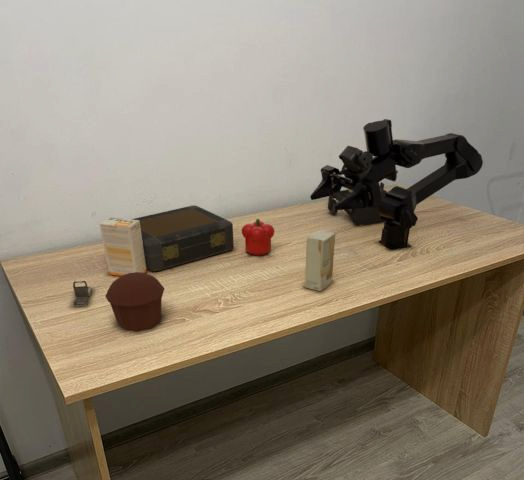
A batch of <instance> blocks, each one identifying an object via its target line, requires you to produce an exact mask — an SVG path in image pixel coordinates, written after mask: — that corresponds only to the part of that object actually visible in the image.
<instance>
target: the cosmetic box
mask: <svg viewBox="0 0 524 480" xmlns="http://www.w3.org/2000/svg"><path fill="white" fill-rule="evenodd" d="M335 245H336V232H333V231H329V230H323V229H318V230H317V231H315V232H313V233H311V234H310V235H308V236H306V250H305V251H306V252H305V270H304V272H305V273H304V288H306V289H310V290H312V291H313V290H314V291H318V292H321V291H323V290H325V289H326V288H327V287H329V285H331V283H332V282H333V273H334V272H333V271H334V260H335V259H334V256H335Z"/></svg>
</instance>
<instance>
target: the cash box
mask: <svg viewBox="0 0 524 480" xmlns="http://www.w3.org/2000/svg"><path fill="white" fill-rule="evenodd" d="M131 220H139V221H140V228H141V235H142V242H143V249H144V255H145V262H146V269H147V270H148V271H150V272H154V273H155V272H158V271H159V272H160V271H163V270H167V269H171V268H174V267H177V266H181V265H184V264H187V263H190V262H191V263H192V262H194V261H198V260H201V259H204V258H209V257H211V256H216V255H219V254H222V253H225V252H230V251H231V250H233V249H234V224H233V222H232V221H231V220H228V219H227V218H223V216H220V215H218V214H215V213H213V212H211V211H209V210H207V209H205V208H203V207H200V206H198V205H196V204H195V205H189V206H183V207H179V208H174V209H170V210H167V211H162V212H156V213H153V214H149V215H145V216H144V215H143V216H139V217H135V218H131Z"/></svg>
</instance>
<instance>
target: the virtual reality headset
mask: <svg viewBox="0 0 524 480" xmlns="http://www.w3.org/2000/svg"><path fill="white" fill-rule="evenodd" d="M344 168H346V167H345V165H344V164H342V167H341V169H340V170H339V171H340V175H341V176H344V177H345V176H346V174H344V170H343V169H344ZM379 185H380V191H381V197H383V196H384V195H385V192H388V191H387V190H386V189H385V183H383V182H382V181H380V182H379ZM349 194H350V192H349V190H348V189H343V190H340V191H339V192H337V193H334V195H332V196H328V200H327V209H328V212H329V213H330V215H336V214H337V213H338V211H339V210H335V208H334V206H335V205H336V204H337V203H338V202H339V201H341V200H342V199H343V198H345V197H346V196H347V195H349ZM343 211H344V212H345V213H346V214H347V215H348V216H349V217H350V218H351V220H352V222H353V223H354V224H355V225H356V226H368V225H377V224H384V222H385V221H383V220H380V216H379V212H378V207H376V208H375V209H371V208H369V209H365V208H363V209H346V210H343Z"/></svg>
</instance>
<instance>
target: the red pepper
mask: <svg viewBox="0 0 524 480" xmlns="http://www.w3.org/2000/svg"><path fill="white" fill-rule="evenodd" d="M241 236H243V238H244V247H245V248H244V249H245V251H246V252H247V253H248V254H249V255H252V256H255V257H256V256H264V255H267V254H268V253H269V252H271V251H272V238H273V237H274V236H275V229H274V226H273V225H271V223H265V222H264V221H262V220H260V218H256V219H255V221H254V222H253V223H246V224H244V225H243V226H242V228H241Z"/></svg>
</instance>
